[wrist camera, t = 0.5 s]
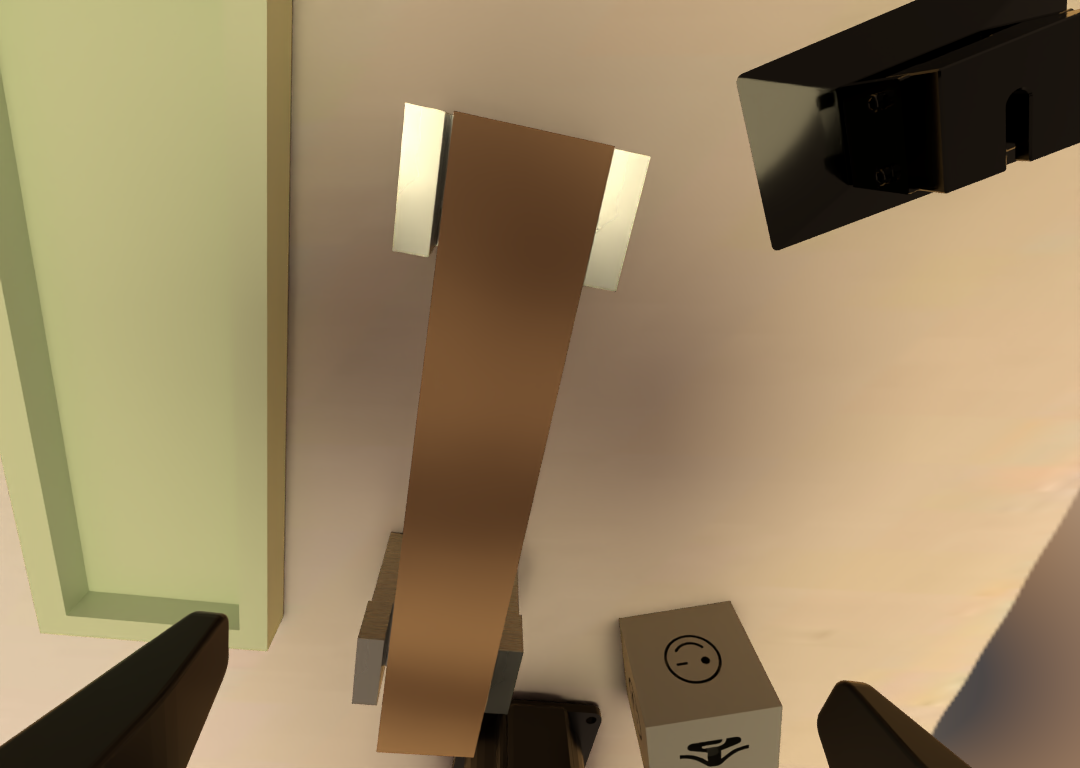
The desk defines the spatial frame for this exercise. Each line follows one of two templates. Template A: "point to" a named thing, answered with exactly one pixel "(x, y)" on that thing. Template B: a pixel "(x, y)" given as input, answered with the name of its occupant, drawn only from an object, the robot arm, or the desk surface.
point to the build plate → (909, 108)
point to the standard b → (426, 187)
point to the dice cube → (699, 690)
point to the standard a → (378, 634)
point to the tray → (146, 309)
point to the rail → (484, 414)
